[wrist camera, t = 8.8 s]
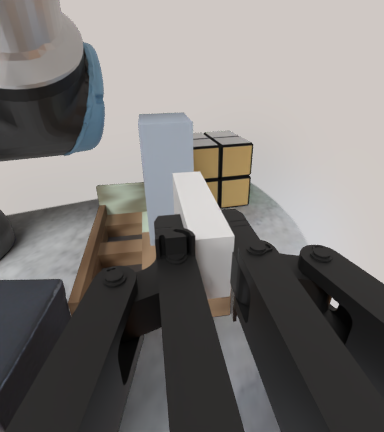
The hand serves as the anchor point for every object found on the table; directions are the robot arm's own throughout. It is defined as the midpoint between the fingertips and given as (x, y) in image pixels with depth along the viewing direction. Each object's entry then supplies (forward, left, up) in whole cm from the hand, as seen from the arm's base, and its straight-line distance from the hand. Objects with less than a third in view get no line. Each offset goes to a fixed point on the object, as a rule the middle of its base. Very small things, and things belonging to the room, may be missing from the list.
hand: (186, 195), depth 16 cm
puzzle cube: (+13, +28, -13) cm, 33 cm away
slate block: (+3, +16, -11) cm, 20 cm away
